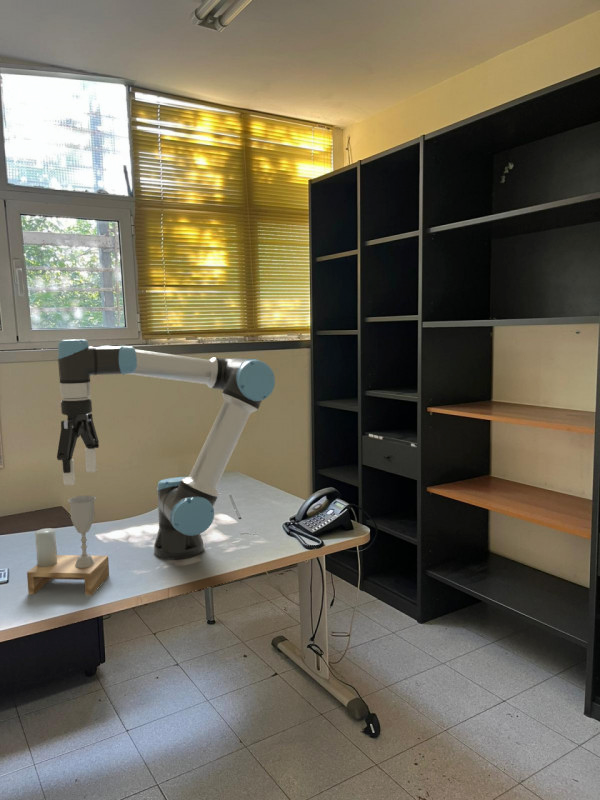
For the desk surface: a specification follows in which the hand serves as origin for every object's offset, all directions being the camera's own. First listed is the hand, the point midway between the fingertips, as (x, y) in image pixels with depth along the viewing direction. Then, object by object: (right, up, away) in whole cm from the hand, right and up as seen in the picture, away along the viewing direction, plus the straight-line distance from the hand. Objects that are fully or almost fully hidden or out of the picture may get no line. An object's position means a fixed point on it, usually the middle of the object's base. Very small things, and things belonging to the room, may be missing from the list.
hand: (80, 478), depth 157 cm
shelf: (-4, -30, +4) cm, 30 cm away
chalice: (0, -24, +2) cm, 24 cm away
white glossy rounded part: (-10, -24, +3) cm, 26 cm away
